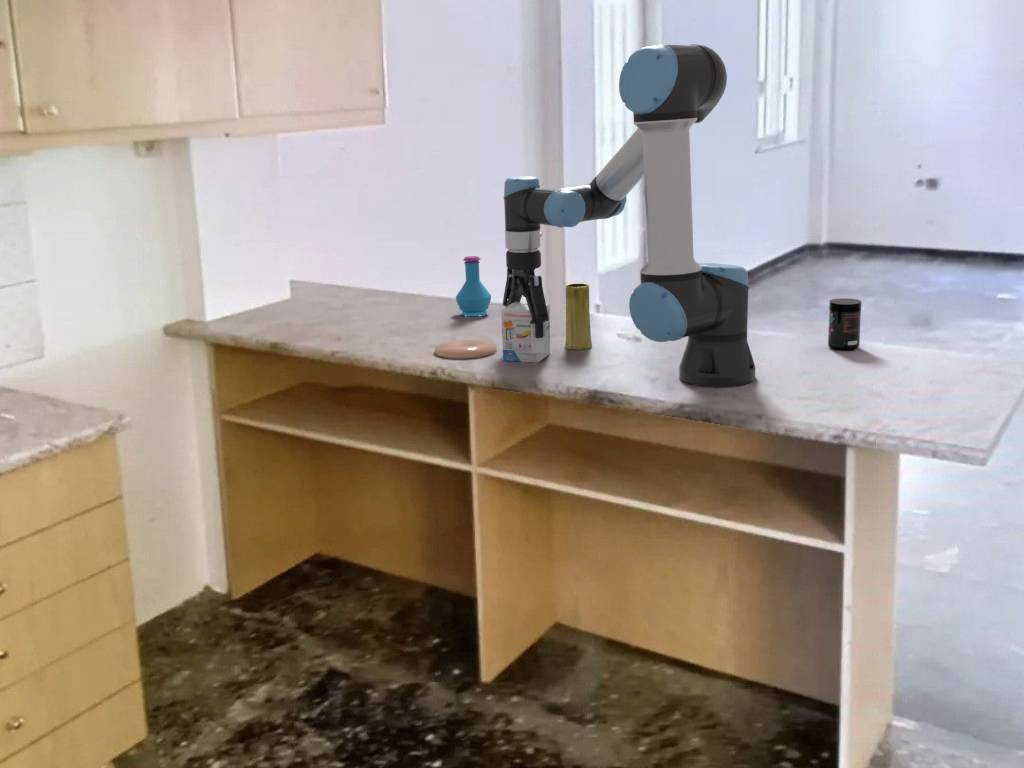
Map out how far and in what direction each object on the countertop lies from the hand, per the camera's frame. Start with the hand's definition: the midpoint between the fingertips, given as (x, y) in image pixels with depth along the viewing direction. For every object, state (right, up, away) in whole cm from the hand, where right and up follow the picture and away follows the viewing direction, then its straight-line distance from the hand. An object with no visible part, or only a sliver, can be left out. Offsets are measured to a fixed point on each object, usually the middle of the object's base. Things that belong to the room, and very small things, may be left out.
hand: (525, 345), depth 255 cm
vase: (+12, 0, +8) cm, 15 cm away
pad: (-14, -1, +8) cm, 16 cm away
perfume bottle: (-13, +10, +48) cm, 50 cm away
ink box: (0, -3, +1) cm, 3 cm away
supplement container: (+70, -1, -1) cm, 70 cm away
